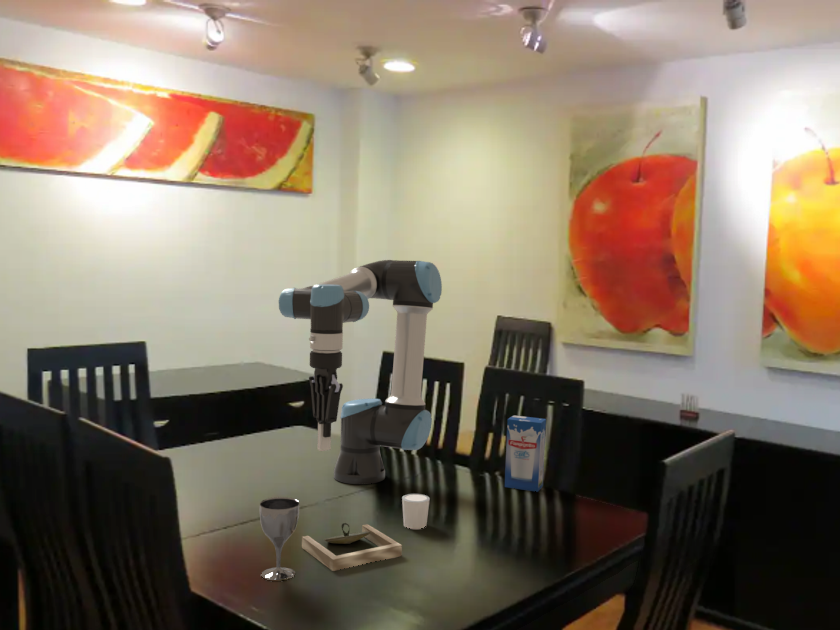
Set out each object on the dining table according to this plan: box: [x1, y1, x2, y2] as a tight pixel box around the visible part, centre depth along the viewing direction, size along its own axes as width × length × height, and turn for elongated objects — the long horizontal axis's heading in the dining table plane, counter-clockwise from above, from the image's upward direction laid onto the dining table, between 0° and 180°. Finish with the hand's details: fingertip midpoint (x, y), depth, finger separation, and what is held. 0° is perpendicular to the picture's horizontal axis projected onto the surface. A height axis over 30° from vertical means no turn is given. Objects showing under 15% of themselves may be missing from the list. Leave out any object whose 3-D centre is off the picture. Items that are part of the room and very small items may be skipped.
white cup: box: [401, 493, 431, 530], centre depth 193 cm, size 7×7×7 cm
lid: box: [323, 522, 370, 545], centre depth 179 cm, size 11×10×5 cm
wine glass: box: [259, 496, 300, 581], centre depth 161 cm, size 8×8×15 cm
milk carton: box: [504, 415, 547, 493], centre depth 228 cm, size 10×6×20 cm, turn 68°
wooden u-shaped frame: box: [301, 523, 403, 572], centre depth 175 cm, size 17×15×2 cm
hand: (324, 449), depth 186 cm, fingers closed
